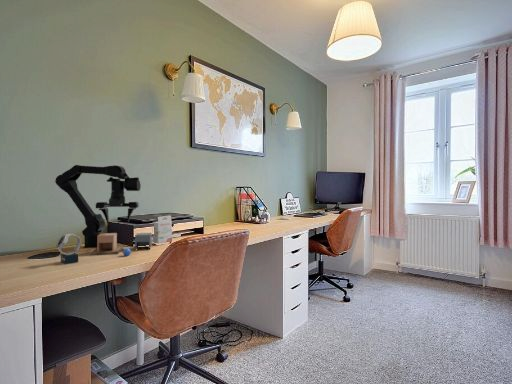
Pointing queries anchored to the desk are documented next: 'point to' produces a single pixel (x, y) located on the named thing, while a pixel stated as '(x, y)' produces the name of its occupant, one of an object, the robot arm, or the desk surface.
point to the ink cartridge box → (162, 230)
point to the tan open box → (107, 241)
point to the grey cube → (143, 239)
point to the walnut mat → (106, 251)
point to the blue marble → (126, 251)
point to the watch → (68, 257)
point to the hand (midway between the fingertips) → (117, 222)
